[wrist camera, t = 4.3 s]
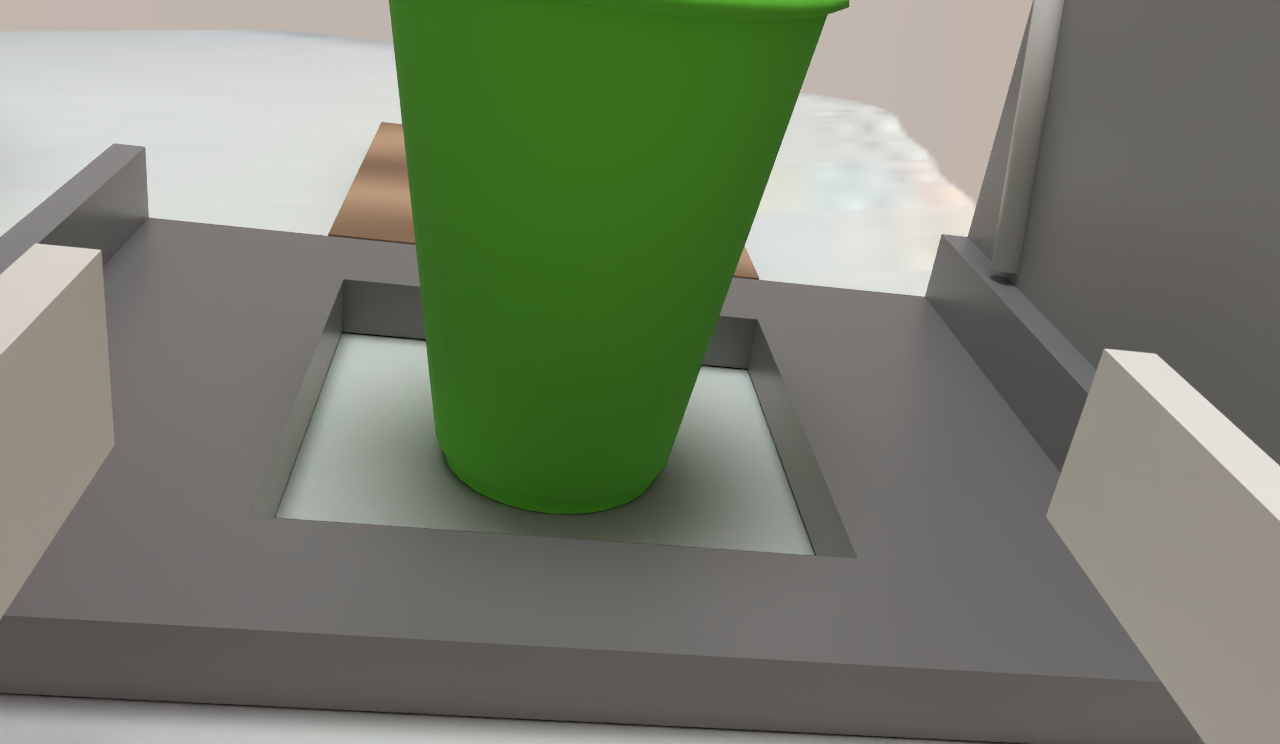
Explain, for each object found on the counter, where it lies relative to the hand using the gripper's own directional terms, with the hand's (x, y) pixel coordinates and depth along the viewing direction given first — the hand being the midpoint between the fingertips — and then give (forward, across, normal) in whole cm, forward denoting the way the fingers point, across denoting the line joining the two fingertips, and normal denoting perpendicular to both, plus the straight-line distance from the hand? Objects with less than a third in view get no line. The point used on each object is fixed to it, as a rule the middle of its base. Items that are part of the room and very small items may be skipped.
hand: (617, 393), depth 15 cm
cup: (+9, 0, -7) cm, 11 cm away
